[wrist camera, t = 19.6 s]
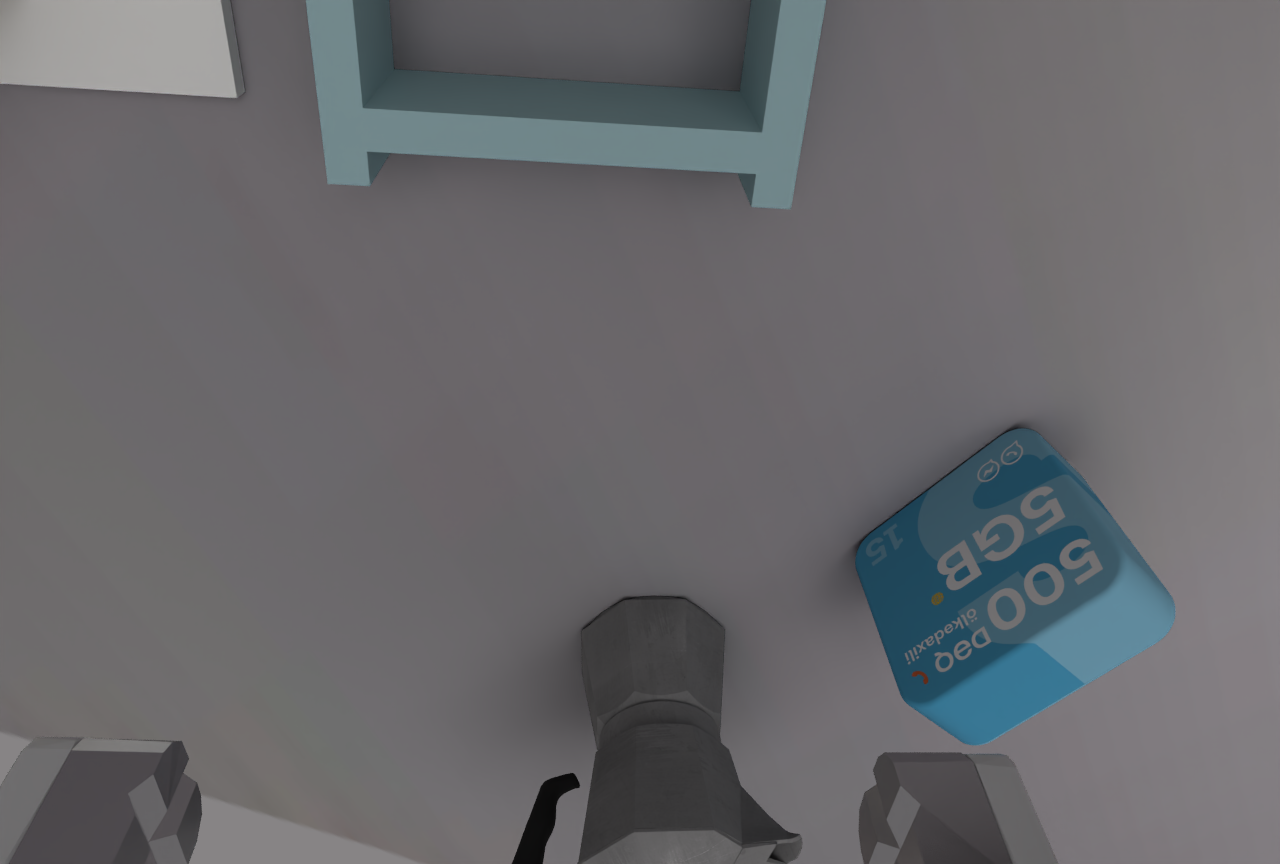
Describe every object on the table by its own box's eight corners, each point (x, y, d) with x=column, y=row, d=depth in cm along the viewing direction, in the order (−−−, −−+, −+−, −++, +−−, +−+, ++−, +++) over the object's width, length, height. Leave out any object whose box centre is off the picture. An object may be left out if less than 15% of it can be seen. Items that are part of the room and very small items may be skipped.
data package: (1024, 414, 47) (1139, 573, 37) (1071, 461, 49) (1193, 624, 39) (847, 548, 52) (907, 720, 42) (896, 586, 54) (965, 760, 44)
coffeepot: (731, 561, 52) (788, 860, 37) (776, 665, 57) (842, 965, 42) (487, 637, 55) (447, 945, 40) (551, 730, 60) (537, 1035, 45)
